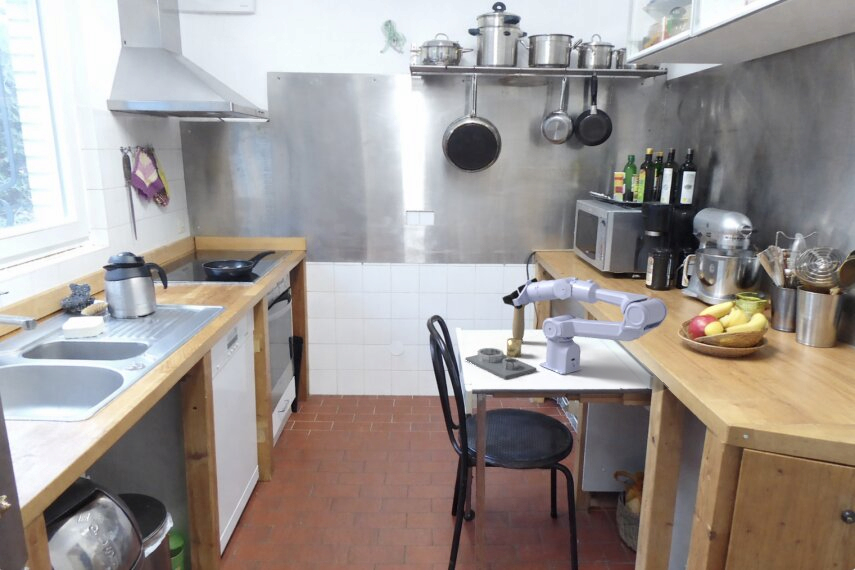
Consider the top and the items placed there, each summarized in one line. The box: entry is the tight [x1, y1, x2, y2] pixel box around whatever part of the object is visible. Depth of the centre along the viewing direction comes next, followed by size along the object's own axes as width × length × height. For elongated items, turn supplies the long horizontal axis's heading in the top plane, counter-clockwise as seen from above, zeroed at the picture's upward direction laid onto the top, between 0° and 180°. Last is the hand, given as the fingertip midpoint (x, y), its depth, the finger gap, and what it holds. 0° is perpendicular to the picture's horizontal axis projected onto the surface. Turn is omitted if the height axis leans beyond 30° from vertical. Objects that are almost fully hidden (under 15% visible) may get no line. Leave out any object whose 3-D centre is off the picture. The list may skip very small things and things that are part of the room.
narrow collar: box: [502, 358, 520, 370], centre depth 164 cm, size 5×5×2 cm
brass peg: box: [506, 337, 522, 359], centre depth 177 cm, size 4×4×5 cm
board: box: [465, 354, 537, 380], centre depth 168 cm, size 18×12×1 cm, turn 34°
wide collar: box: [476, 347, 505, 363], centre depth 172 cm, size 8×8×2 cm
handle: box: [511, 303, 530, 344], centre depth 189 cm, size 5×6×15 cm
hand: (511, 295), depth 180 cm, fingers open, 7 cm apart
